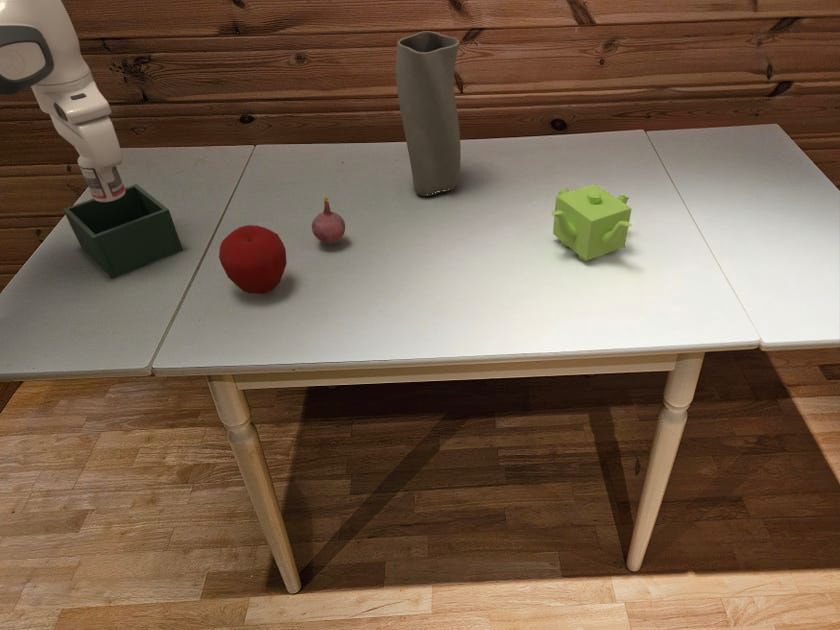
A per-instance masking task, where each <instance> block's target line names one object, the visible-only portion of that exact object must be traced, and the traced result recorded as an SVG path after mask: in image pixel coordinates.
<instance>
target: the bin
mask: <svg viewBox="0 0 840 630" xmlns="http://www.w3.org/2000/svg"><path fill="white" fill-rule="evenodd" d="M124 188H125V194H124V196H122V197H121V198H119V199H117V200H114V201H111V202H99V201H96V200H95V199H94V198H91V199H88V200H85V201H82V202H79V203H76V204H73V205H70V206H68V207H65V208H62V210H63V212H64V215H65V216H66V219H67V221H68V223H69V225H70V227H71V230H72V232H73V233H74V236H75V237H76V240H77V242H78V243H79V246H80V248H81V250H82V251H83V252H84V253H85V254H86V255H87V256H88V257H89V258H90V259H91V260H92V261H93V262H94V263H95V264H96V265H97V266H98V267H99V268H100V269H101V270H102V272H104V273H105V275H107V276H108V278H110V279H111V280H113V279H116V278H118V277H120V276H123V275H125V274H128V273H130V272H132V271H135V270H138V269H140V268H142V267H144V266H148V265H150V264H152V263H154V262H156V261H157V262H158V261H160V260H162V259H165V258H168V257H169V256H171V255H174V254H177V253H179V252H182V251H183V250H184V249H183V245H182V242H181V240H180V237H179V234H178V231H177V229H176V226H175V223H174V220H173V217H172V214H171V211H170V209H169V208H167V207H166V206H165V205H164V204H162V203H161V202H160V201H159V200H158V199H156V197H154V196H152V194H150V193H149V192H148V191H146V190H145V189H144V188H142V187H141V186H140V185H139V184H138V183H135V184H132V185H129V186H127V187H126V186H125V187H124Z"/></svg>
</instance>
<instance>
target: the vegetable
mask: <svg viewBox="0 0 840 630" xmlns="http://www.w3.org/2000/svg"><path fill="white" fill-rule="evenodd" d="M323 201H324V202H323V204H324V206H323V211H322V212H320V213H318V214H317V215H316V216H315V217H314V219H313V220H312V223H311V230H312V234H313V236H314V237H315V238H316V239H317V240H318V241H320V242H322V243H324V244H327V245H331V244H336V243H337V242H339V241H340V240H341V239H342V238H343V237H344V235H345V231H346V222H345V220H344V219H343V217H342V216H341V215H340V214H338V213H337V212H334V211H331V206H330V202H329V199H328V197H327V196H326V195H325V196H323Z"/></svg>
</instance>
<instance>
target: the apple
mask: <svg viewBox="0 0 840 630" xmlns="http://www.w3.org/2000/svg"><path fill="white" fill-rule="evenodd" d="M218 251H219V252H218V253H219V254H218V258H219V262H220V265H221V267H222V268H223V271H224V272H225V274H226V276H227V278H228V279H229V280H230V281H231V282H232V283H234V285H236V287H237V288H239V289H240V290H241V291H242V292H243V293H247V294H250V295H263V294H264V295H265V294H268V293H270V292H272V291H273V290H274V289H276V288H277V287H278V286H279V285H280V283H281V281H282V279H283V275H284V273H285V270H286V268H287V249H286V246H285V245H284V242H283V240H282V239H281V237H280V236H279V234H278V233H276V232H275V231H273V230H272V229H269V228H266V227H264V226H260V225H252V224H249V225H244V226H239V227H238V228H236V229H234V230H232V231H231V232H230V233H229V234H228V235H226V236H225V238H224V239H222V241H221V243H220V245H219V250H218Z"/></svg>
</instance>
